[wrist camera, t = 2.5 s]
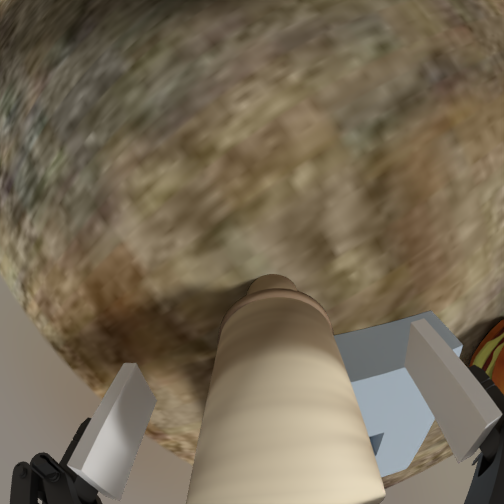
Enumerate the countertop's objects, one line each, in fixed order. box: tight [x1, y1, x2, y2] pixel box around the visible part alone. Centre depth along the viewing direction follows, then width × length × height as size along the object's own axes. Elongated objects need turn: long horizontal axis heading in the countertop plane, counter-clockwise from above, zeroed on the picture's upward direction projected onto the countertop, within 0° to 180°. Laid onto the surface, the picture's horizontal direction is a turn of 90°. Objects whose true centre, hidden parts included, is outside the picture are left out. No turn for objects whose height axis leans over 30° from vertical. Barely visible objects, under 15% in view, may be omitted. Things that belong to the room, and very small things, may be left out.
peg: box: [186, 274, 385, 504], centre depth 11 cm, size 6×6×14 cm
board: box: [334, 311, 463, 477], centre depth 19 cm, size 20×15×5 cm
